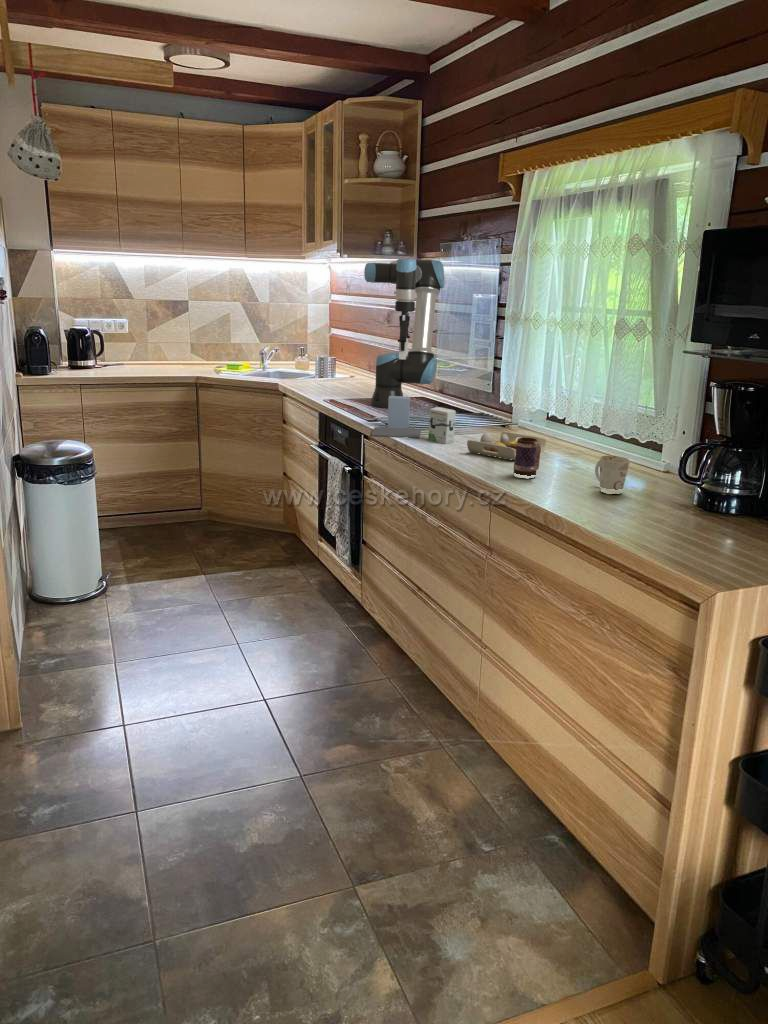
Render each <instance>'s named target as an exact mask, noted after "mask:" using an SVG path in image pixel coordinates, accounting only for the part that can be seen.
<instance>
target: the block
mask: <svg viewBox="0 0 768 1024" xmlns="http://www.w3.org/2000/svg"><path fill="white" fill-rule="evenodd" d="M410 406H411V396H405V395H403V396H389V399H388V408H387V428H401V429H403V428H408V427H409V428H410V411H411V409H410ZM409 428H408V429H409Z"/></svg>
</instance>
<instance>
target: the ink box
mask: <svg viewBox="0 0 768 1024" xmlns="http://www.w3.org/2000/svg"><path fill="white" fill-rule="evenodd" d="M456 413H457V411H456V410H454V409H451V408H450V409H449V408H447V407H446V408H445V407H440V406H436V407H433V408H430V409H429V419H428V422H429V423H428V437H427V438H428V439H427V440H428V441H430V442H435V443H440V444H442V445H448V444H453V443H455V429H456V428H455V427H456Z"/></svg>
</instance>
